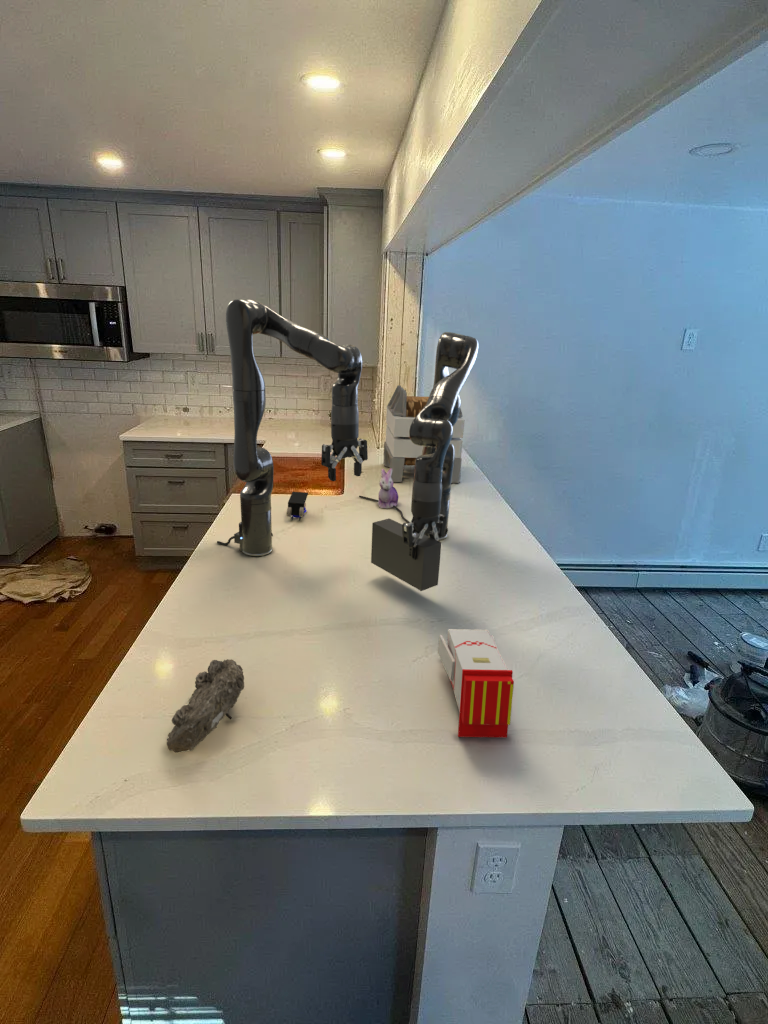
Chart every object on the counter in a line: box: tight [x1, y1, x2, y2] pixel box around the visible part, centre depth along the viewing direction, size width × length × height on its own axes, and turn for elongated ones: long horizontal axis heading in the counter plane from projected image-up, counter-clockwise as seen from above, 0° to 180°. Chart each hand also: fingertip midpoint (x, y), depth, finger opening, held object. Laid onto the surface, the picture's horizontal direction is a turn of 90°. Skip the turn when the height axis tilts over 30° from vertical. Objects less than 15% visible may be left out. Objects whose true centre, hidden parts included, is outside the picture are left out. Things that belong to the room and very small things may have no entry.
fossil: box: [166, 658, 245, 754], centre depth 106 cm, size 22×10×15 cm
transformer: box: [383, 384, 465, 484], centre depth 268 cm, size 34×33×41 cm
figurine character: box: [286, 491, 309, 522], centre depth 211 cm, size 7×8×15 cm
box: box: [370, 518, 442, 592], centre depth 156 cm, size 21×6×12 cm, turn 40°
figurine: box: [377, 467, 399, 509], centre depth 226 cm, size 9×10×15 cm
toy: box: [437, 628, 515, 738], centre depth 117 cm, size 12×13×30 cm
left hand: (345, 478), depth 160 cm, fingers open, 8 cm apart
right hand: (422, 555), depth 150 cm, fingers closed on box, 6 cm apart
